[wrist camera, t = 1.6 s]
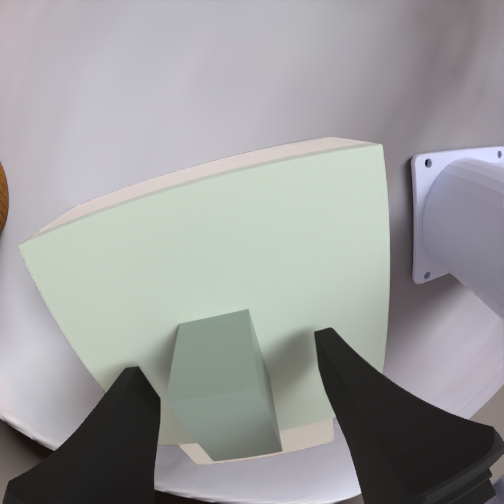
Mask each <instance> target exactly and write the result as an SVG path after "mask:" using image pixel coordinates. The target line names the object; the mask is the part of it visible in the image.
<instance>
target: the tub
mask: <svg viewBox="0 0 504 504" xmlns="http://www.w3.org/2000/svg"><path fill="white" fill-rule="evenodd" d="M364 143H370V142H364V141H357V140H350V139H342V138H334V137H322V138H316V139H311V140H305V141H299V142H294V143H289V144H284V145H279V146H274V147H269V148H264V149H260V150H255V151H251V152H247V153H242V154H238V155H234V156H230V157H226V158H222V159H218V160H214V161H210V162H207V163H203V164H199V165H196V166H192V167H189V168H185V169H182V170H178V171H175V172H172V173H168V174H165V175H162V176H159V177H155V178H152V179H149V180H146V181H143V182H140V183H137V184H134V185H131V186H128V187H125V188H122V189H120V190H117V191H114V192H111V193H109V194H106V195H103V196H100V197H98V198H95V199H93V200H90V201H87V202H85V203H82V204H80V205H77V206H75V207H74V208H72V209H70V210H69V211H67V212H66V213H64V214H63V215H61V216H59V217H58V218H56V219H55V220H53V221H52V222H50V223H49V224H47V225H46V226H45V227H43V228H42V229H40V230H39V231H37V232H36V233H34V234H33V235H32V236H34V235H36V234H38V233H41V232H43V231H45V230H48V229H50V228H52V227H55V226H57V225H60V224H62V223H65V222H67V221H70V220H72V219H75V218H78V217H80V216H83V215H86V214H88V213H91V212H94V211H96V210H99V209H102V208H105V207H107V206H110V205H113V204H116V203H119V202H122V201H125V200H128V199H131V198H134V197H137V196H140V195H143V194H146V193H149V192H152V191H156V190H159V189H162V188H165V187H169V186H172V185H176V184H179V183H182V182H186V181H190V180H193V179H197V178H200V177H204V176H208V175H212V174H215V173H219V172H223V171H227V170H231V169H235V168H239V167H243V166H248V165H252V164H256V163H261V162H265V161H270V160H274V159H279V158H284V157H289V156H294V155H299V154H304V153H309V152H315V151H320V150H326V149H332V148H338V147H344V146H351V145H357V144H364ZM30 237H31V236H30Z"/></svg>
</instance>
